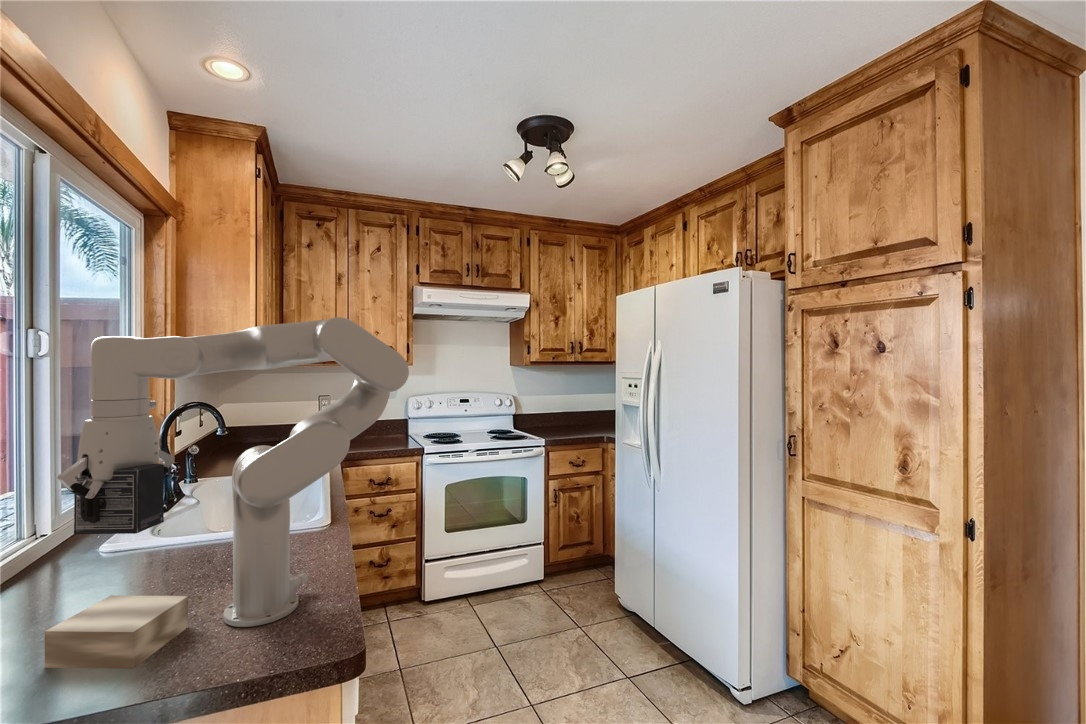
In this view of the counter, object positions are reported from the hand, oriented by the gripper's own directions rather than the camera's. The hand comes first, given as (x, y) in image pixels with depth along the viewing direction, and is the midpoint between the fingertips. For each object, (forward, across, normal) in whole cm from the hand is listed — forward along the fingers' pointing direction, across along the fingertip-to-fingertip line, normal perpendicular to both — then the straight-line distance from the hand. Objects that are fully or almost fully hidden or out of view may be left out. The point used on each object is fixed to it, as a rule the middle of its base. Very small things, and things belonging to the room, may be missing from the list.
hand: (121, 513), depth 85 cm
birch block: (+23, 0, 0) cm, 23 cm away
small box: (+3, 0, 0) cm, 3 cm away
